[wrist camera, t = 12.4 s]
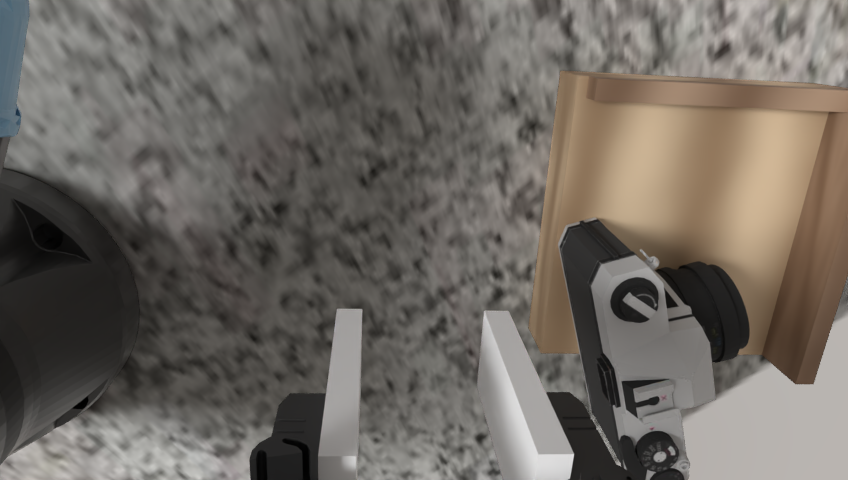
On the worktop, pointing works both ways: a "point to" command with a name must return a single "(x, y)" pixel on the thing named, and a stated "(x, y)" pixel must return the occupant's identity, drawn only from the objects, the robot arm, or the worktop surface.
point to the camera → (647, 343)
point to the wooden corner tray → (706, 197)
